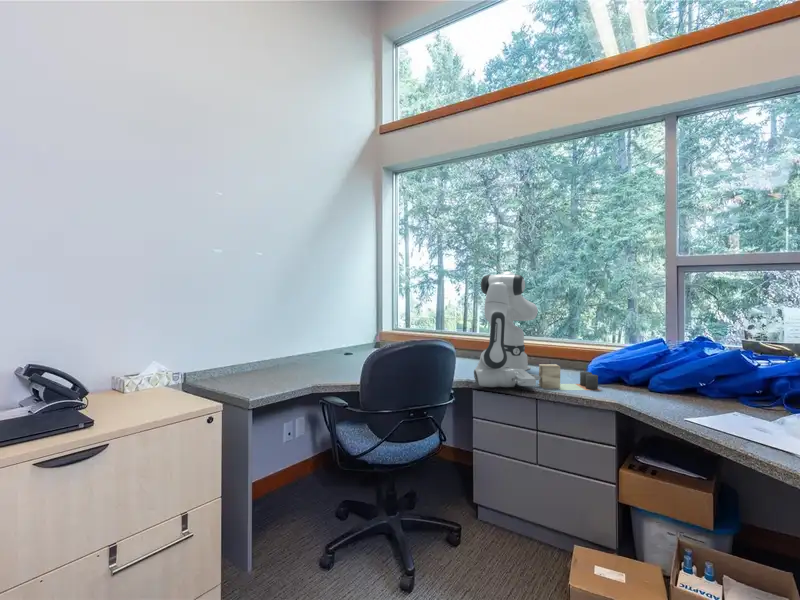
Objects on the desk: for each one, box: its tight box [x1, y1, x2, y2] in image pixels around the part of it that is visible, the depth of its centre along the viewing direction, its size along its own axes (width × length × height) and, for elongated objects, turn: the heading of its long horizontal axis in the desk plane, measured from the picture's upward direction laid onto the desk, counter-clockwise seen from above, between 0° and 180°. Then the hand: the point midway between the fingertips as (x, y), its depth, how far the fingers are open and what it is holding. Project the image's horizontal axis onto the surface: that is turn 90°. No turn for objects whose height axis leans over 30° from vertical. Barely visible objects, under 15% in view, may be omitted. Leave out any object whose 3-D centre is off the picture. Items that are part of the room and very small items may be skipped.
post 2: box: [586, 373, 599, 391], centre depth 181 cm, size 5×5×6 cm
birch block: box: [538, 363, 561, 389], centre depth 185 cm, size 5×8×10 cm, turn 88°
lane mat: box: [537, 383, 601, 391], centre depth 185 cm, size 12×25×1 cm, turn 88°
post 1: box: [579, 371, 593, 387], centre depth 187 cm, size 5×5×6 cm
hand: (539, 377), depth 185 cm, fingers closed
